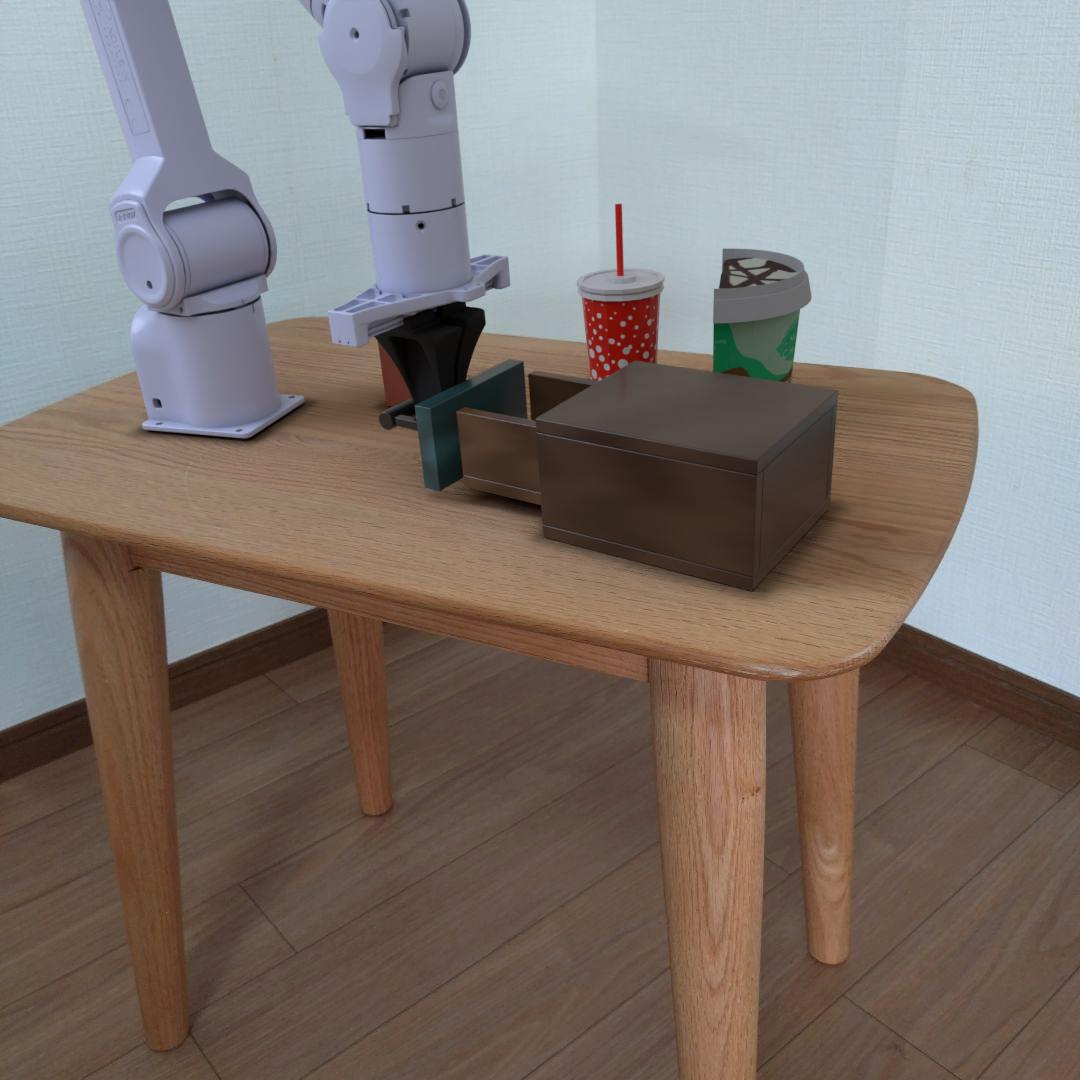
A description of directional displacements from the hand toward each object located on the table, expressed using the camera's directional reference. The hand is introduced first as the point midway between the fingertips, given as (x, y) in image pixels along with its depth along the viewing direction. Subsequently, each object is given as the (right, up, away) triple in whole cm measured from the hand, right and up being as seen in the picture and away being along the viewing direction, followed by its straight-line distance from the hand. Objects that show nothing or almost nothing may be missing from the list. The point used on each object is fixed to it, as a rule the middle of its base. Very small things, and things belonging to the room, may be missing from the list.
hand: (440, 425), depth 66 cm
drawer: (+5, -3, -2) cm, 6 cm away
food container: (+22, +2, +7) cm, 23 cm away
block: (-3, +3, +13) cm, 13 cm away
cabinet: (+15, -6, -8) cm, 18 cm away
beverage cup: (+13, +3, +10) cm, 17 cm away
